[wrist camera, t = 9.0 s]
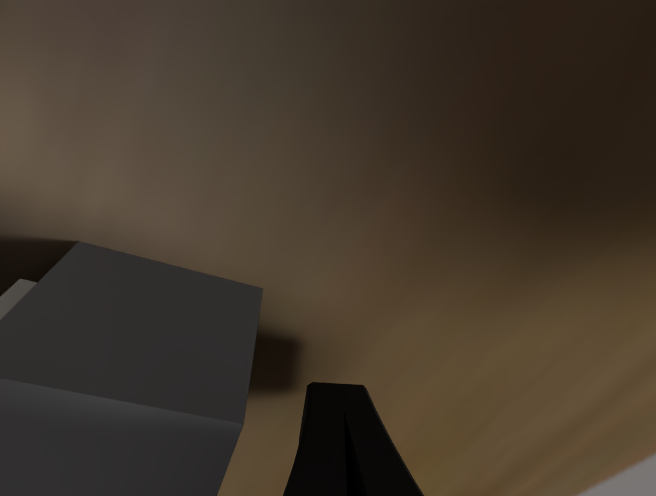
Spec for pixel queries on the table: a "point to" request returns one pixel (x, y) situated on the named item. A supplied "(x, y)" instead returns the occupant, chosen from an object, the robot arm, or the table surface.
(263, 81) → the table surface
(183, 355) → the plug
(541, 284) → the table surface
